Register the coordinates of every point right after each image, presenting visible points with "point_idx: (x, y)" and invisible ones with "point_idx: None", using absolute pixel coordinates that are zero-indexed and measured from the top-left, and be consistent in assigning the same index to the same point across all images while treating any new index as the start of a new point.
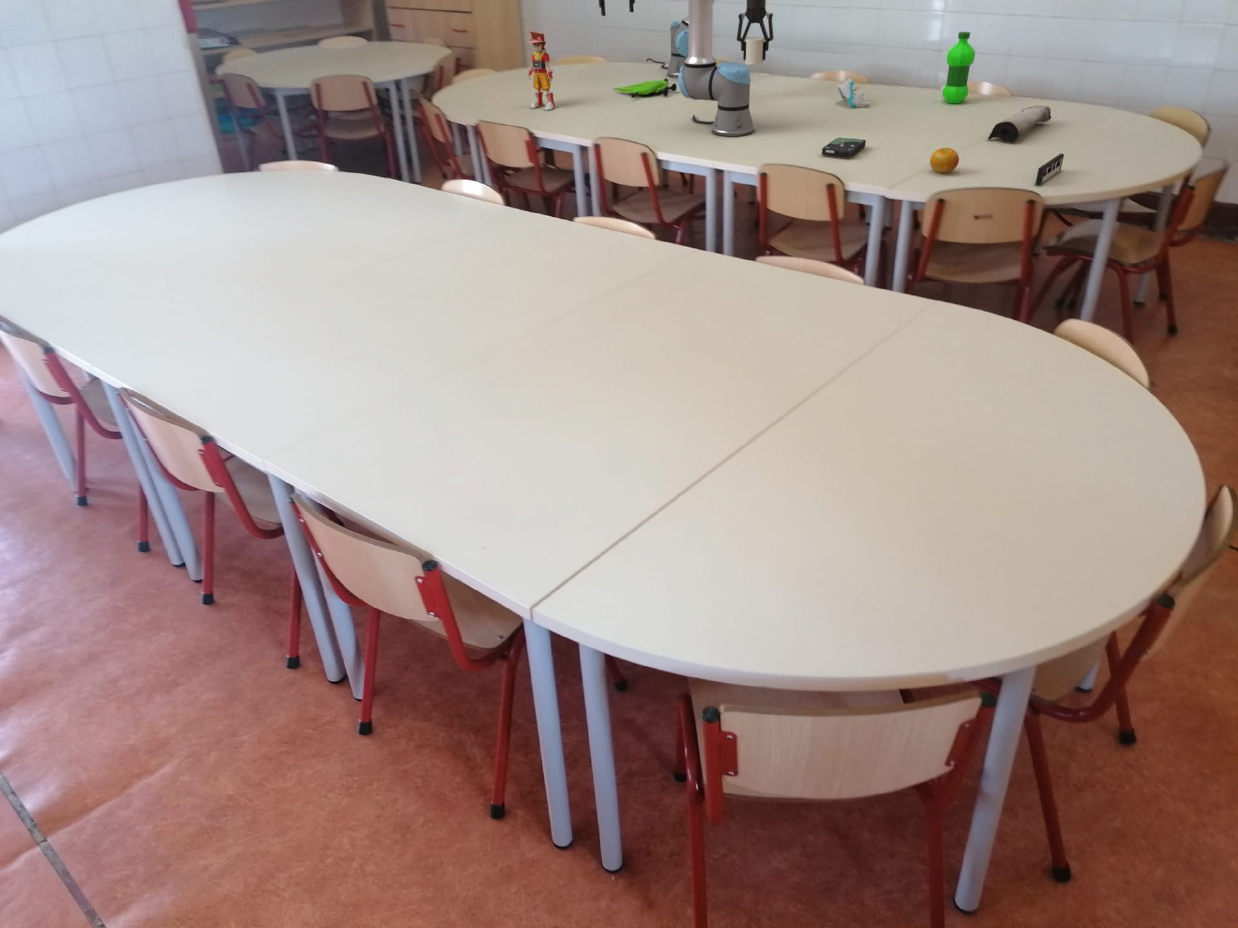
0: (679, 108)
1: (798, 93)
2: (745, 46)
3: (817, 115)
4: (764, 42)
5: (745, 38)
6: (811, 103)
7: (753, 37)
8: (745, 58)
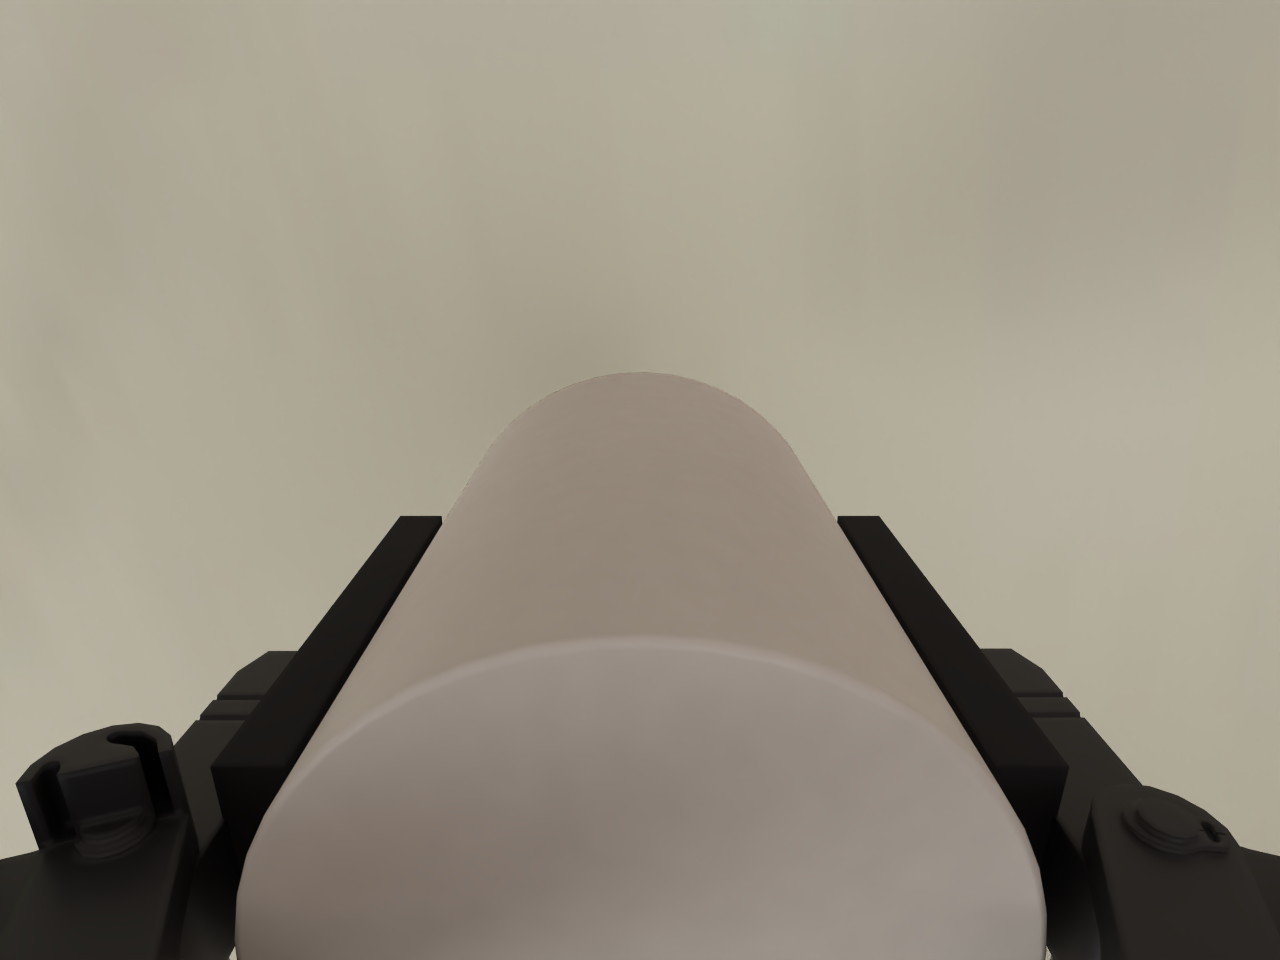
0: (26, 742)
1: (1173, 49)
2: None
3: None
4: None
5: (168, 899)
6: (1244, 524)
7: (517, 814)
8: None
